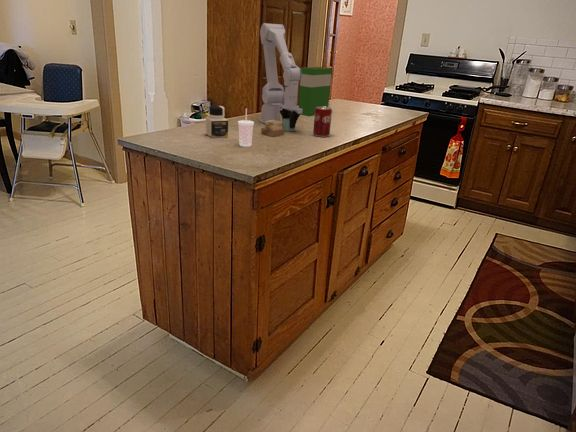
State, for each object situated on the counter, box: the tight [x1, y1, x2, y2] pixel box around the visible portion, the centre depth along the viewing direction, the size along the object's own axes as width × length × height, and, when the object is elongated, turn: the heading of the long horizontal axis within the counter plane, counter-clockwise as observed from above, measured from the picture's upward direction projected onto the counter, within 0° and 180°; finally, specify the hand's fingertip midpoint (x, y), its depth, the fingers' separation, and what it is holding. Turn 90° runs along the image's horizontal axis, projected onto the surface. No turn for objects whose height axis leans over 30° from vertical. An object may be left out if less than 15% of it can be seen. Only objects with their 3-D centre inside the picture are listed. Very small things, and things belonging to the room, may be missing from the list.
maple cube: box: [264, 120, 283, 130], centre depth 187 cm, size 5×5×3 cm
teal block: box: [282, 118, 296, 132], centre depth 197 cm, size 4×4×5 cm
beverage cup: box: [237, 108, 255, 148], centre depth 166 cm, size 6×6×14 cm
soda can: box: [312, 106, 333, 138], centre depth 190 cm, size 7×7×12 cm
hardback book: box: [298, 66, 333, 117], centre depth 237 cm, size 18×7×24 cm, turn 141°
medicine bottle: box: [205, 104, 229, 139], centre depth 178 cm, size 7×7×12 cm
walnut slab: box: [260, 126, 285, 138], centre depth 188 cm, size 7×7×3 cm
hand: (289, 127), depth 198 cm, fingers closed on teal block, 4 cm apart
